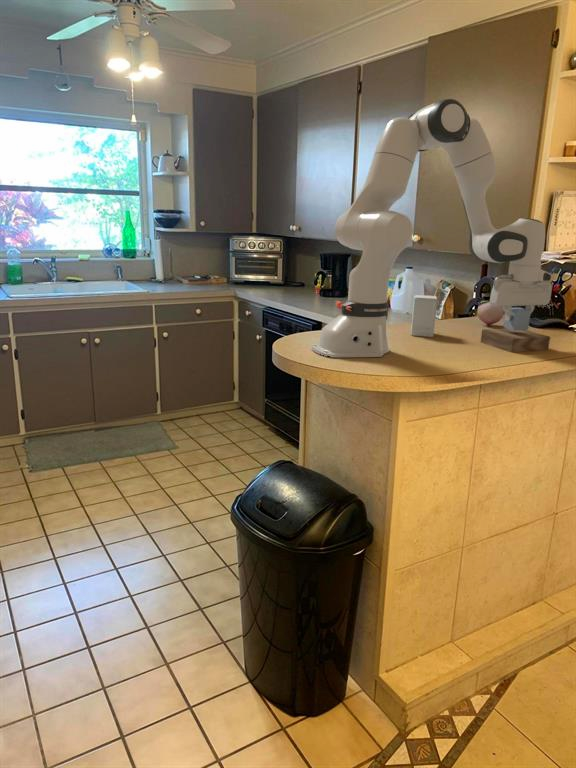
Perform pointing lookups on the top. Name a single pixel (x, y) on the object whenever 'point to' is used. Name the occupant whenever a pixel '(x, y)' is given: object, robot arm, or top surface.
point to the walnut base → (515, 340)
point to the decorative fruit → (490, 313)
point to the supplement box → (423, 315)
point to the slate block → (518, 319)
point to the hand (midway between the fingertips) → (517, 320)
